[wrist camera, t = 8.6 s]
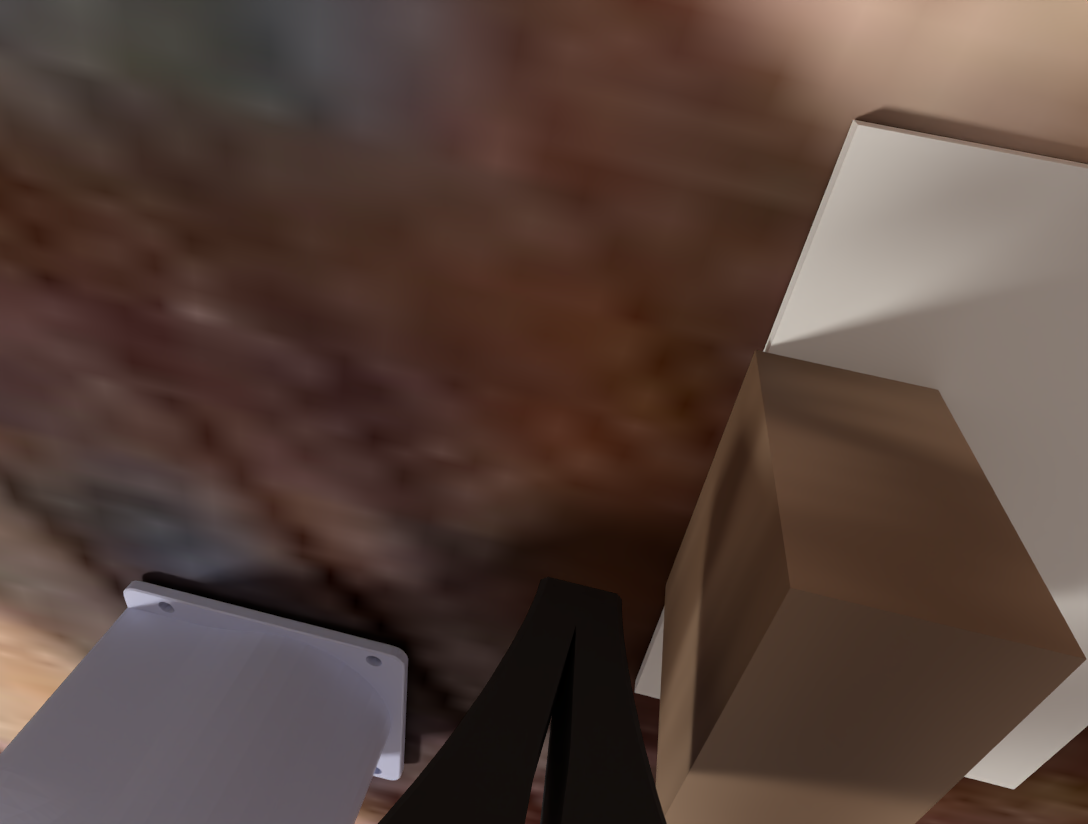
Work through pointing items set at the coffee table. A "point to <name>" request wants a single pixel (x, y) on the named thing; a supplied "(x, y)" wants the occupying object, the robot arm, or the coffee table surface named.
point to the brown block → (845, 610)
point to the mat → (966, 347)
